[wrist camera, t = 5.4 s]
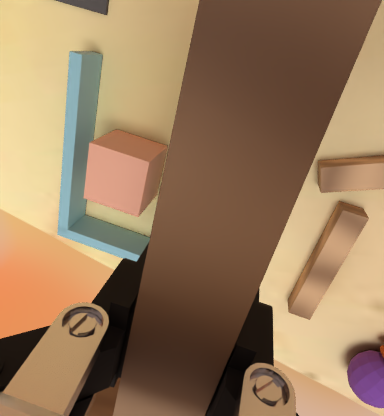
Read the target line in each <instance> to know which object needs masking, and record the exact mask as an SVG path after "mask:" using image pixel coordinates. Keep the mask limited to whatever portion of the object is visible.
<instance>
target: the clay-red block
mask: <svg viewBox="0 0 384 416" xmlns="http://www.w3.org/2000/svg"><path fill="white" fill-rule="evenodd" d="M167 148H168V146H166V145H163V144H160V143H157V142H154V141H151V140H148V139H145V138H142V137H138V136H135V135H132V134H129V133H126V132H123V131H120V130H117V129H116V130H114V131H112V132H110V133H108V134H106V135H104V136H102V137H100V138H98V139H96V140H93V141H91V142H89V151H88V160H87V170H86V179H85V189H84V198H85V199H88V200H90V201H93V202H96V203H99V204H102V205H105V206H108V207H111V208H114V209H116V210H119V211H122V212H125V213H128V214H131V215H134V216H137V217H139V216H140V214H141V213H142V212H143V211H144V210H145V208H146V207H147V206H148V205H149V204H150V202H151V201H152V200H153V199H154V198H155V196H156V195H157V193H158V188H159V184H160V179H161V175H162V170H163V166H164V161H165V157H166V153H167Z"/></svg>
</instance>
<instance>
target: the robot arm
mask: <svg viewBox="0 0 384 416" xmlns="http://www.w3.org/2000/svg"><path fill="white" fill-rule="evenodd" d="M148 245H149V243H148V244H147V246H146V247H145V249H144V251H143V252H142V254H141V255H140V257H139V258H138V260H137V262H136V261H133V260H130V259H127V258H124V259H123V260H122V261H121V262H120V264H119V265H118V266H117V268H116V269H115V271H114V272H113V274H112V275H111V276H110V278H109V279H108V280H107V282H106V283H105V285H104V286H103V287H102V289H101V290H100V292H99V293H98V294H97V296H96V297H95V299H94V300H93V301H92V303H77V304H73V305H70V306H69V307H67V308H65V309H64V310H63V311H62V312H61V313H60V314H59V315H58V316H57V318H56V319H55V321H54V322H53V323H52V325H50V326H46V327H43V328H39V329H36V330H32V331H28V332H24V333H21V334H17V335H13V336H9V337H6V338H2V339H0V416H88V414H89V412H90V410H91V407H92V405H93V403H94V401H95V398H96V395H97V392H100V391H102V390H104V389H107V388H109V386H110V387H113V388H114V386H115V384H116V382H117V380H118V378H121V374H122V370H123V365H124V360H125V355H126V350H127V346H128V341H129V336H130V331H131V326H132V322H133V317H134V312H135V307H136V303H137V298H138V293H139V288H140V283H141V279H142V274H143V269H144V264H145V259H146V255H147V250H148ZM273 363H274V362H273V310H272V306H270V305H267V304H264V303H261V302H259V289H258V291H257V294H256V296H255V298H254V301H253V303H252V305H251V308H250V310H249V312H248V315H247V317H246V319H245V322H244V324H243V326H242V329H241V331H240V333H239V336H238V338H237V340H236V343H235V345H234V348H233V350H232V352H231V355H230V357H229V359H228V362H227V364H226V366H225V369H224V371H223V373H222V376H221V378H220V380H219V383H218V385H217V387H216V390H215V392H214V394H213V397H212V399H211V401H210V404H209V406H208V408H207V411H206V414H205V416H299V415H298V414H297V413H296V399H295V398H296V397H295V392H294V388H293V386H292V384H291V382H290V381H289V379H288V378H287V376H286V375H285V374H284V373H282V372H281V371H280V370H279V369H278V368H276V367H274V364H273Z"/></svg>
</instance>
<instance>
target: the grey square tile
mask: <svg viewBox="0 0 384 416" xmlns="http://www.w3.org/2000/svg"><path fill="white" fill-rule="evenodd" d="M56 1H60V2H63V3H67V4H70V5H73V6H77V7H80V8H84V9H87V10H91V11H94V12H98V13H101V14H104V15H107V12H108V3H109V0H56Z"/></svg>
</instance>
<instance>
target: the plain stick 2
mask: <svg viewBox="0 0 384 416" xmlns="http://www.w3.org/2000/svg"><path fill="white" fill-rule="evenodd" d="M368 219H369V218H368V216H367V214H366V212H365V211H364V209H362V208H359V207H356V206H353V205H350V204H347V203H344V202H340V201H339V202H338V204H337V206H336V208H335V210H334V212H333V214H332V216H331V218H330V220H329V222H328V224H327V226H326V228H325V229H324V231H323V233H322V235H321V237H320V239H319V241H318V243H317V245H316V247H315V249H314V251H313V253H312V254H311V256H310V258H309V260H308V262H307V264H306V266H305V268H304V270H303V272H302V274H301V276H300V278H299V280H298V281H297V283H296V285H295V287H294V289H293V291H292V293H291V295H290V297H289V299H288V310H289V313H292V314H295V315H298V316H300V317H303V318H306V319H309V320H310V318H311V316H312V315H313V313H314V311H315V310H316V308H317V306H318V304H319V303H320V301H321V299H322V298H323V296H324V294H325V293H326V291H327V289H328V287H329V286H330V284H331V282H332V281H333V279H334V277H335V275H336V274H337V272H338V270H339V269H340V267H341V265H342V263H343V262H344V260H345V258H346V257H347V255H348V253H349V252H350V250H351V248H352V246H353V245H354V243H355V241H356V240H357V238H358V236H359V234H360V233H361V231H362V229H363V228H364V226H365V224H366V222H367V221H368Z"/></svg>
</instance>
